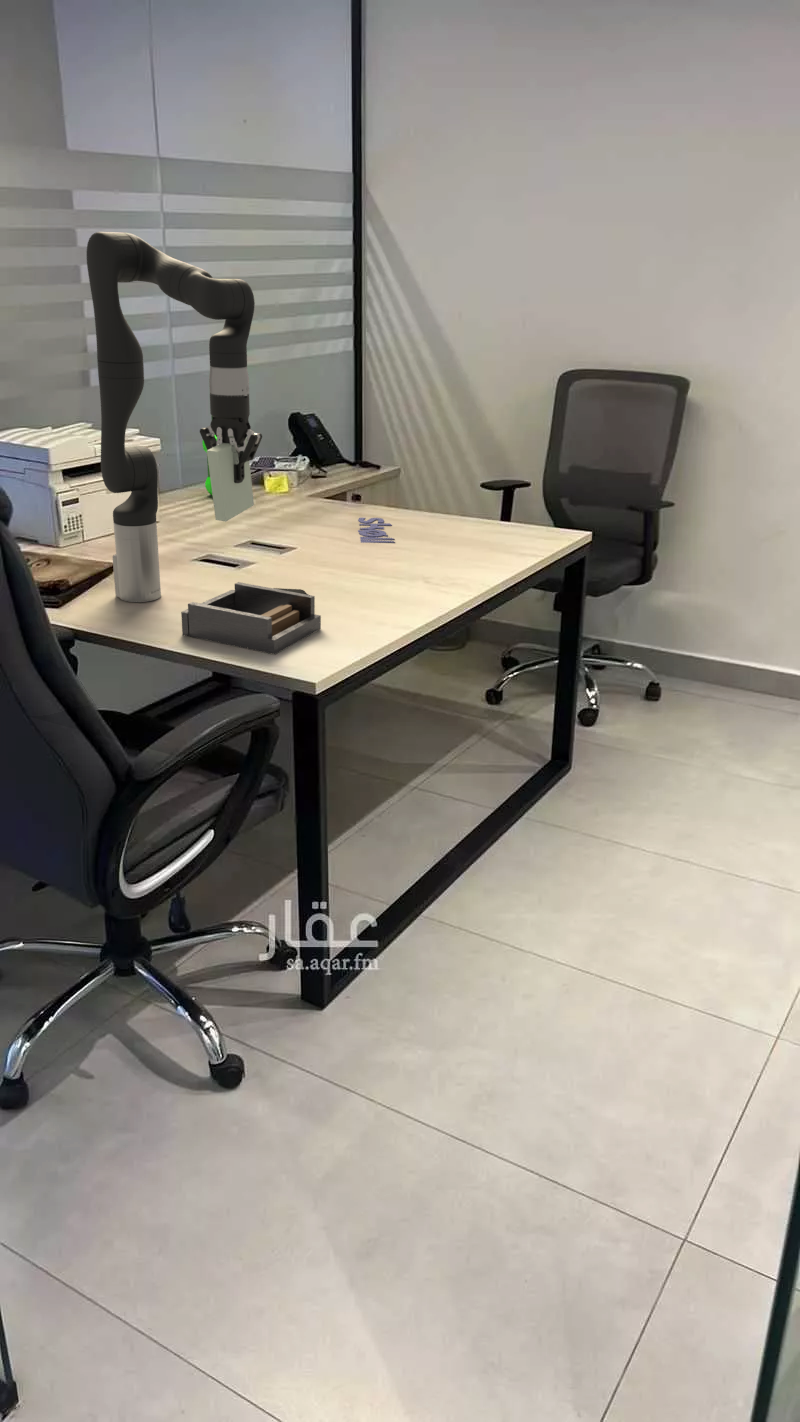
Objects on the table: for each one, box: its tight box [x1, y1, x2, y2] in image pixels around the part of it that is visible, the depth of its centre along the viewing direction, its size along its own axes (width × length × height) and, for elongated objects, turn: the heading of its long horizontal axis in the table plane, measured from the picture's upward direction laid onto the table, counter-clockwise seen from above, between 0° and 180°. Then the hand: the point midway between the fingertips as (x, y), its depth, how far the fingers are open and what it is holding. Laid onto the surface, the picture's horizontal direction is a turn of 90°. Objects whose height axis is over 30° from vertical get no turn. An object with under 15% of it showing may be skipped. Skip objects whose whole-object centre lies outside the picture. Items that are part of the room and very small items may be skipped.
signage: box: [357, 517, 396, 544], centre depth 305 cm, size 28×1×10 cm
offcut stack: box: [262, 605, 299, 636], centre depth 219 cm, size 4×12×6 cm, turn 154°
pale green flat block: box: [206, 436, 255, 523], centre depth 211 cm, size 2×10×14 cm, turn 154°
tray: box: [180, 581, 322, 656], centre depth 221 cm, size 22×18×7 cm
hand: (232, 481), depth 211 cm, fingers closed on pale green flat block, 2 cm apart
